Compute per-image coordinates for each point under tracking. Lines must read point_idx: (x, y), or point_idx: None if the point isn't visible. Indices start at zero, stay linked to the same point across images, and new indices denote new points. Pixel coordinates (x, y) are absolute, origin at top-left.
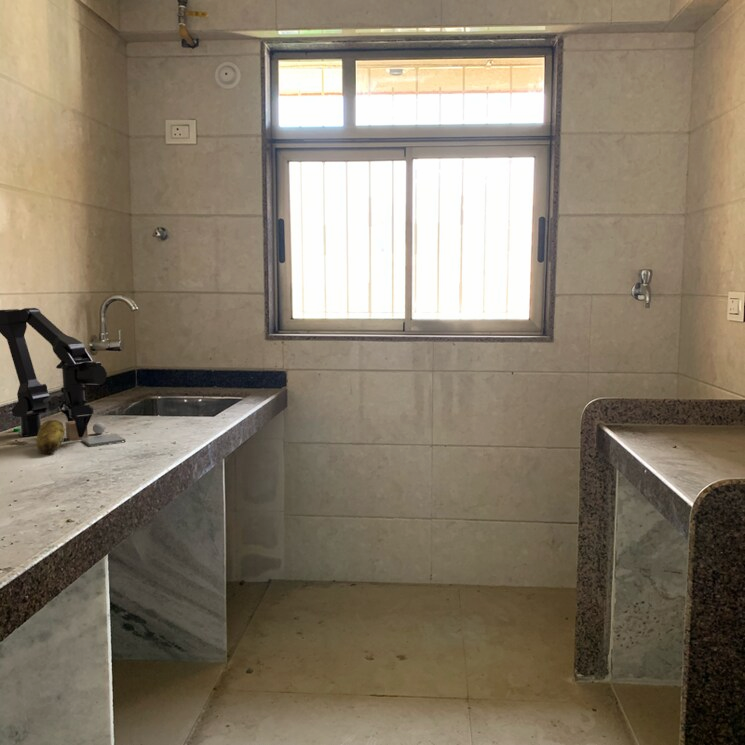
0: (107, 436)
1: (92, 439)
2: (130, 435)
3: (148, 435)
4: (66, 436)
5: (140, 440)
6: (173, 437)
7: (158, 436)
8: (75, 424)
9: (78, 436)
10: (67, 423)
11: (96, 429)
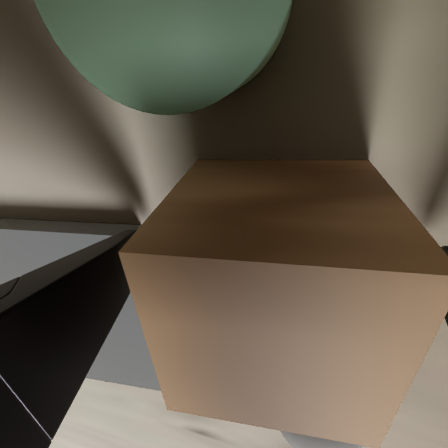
0: (113, 350)
1: None
2: (165, 410)
3: (130, 432)
4: (368, 165)
5: None
6: (65, 443)
7: (97, 435)
8: (18, 299)
9: (133, 230)
10: (261, 259)
11: None
